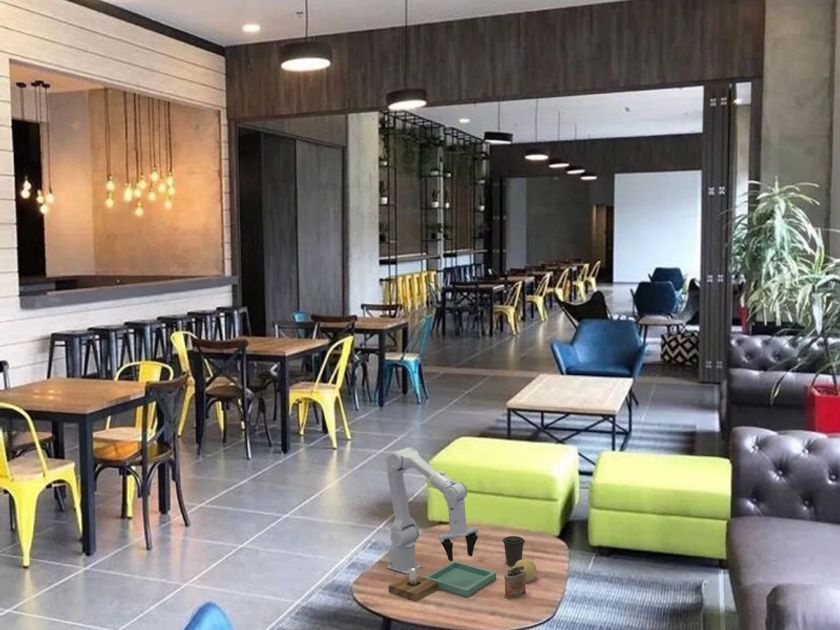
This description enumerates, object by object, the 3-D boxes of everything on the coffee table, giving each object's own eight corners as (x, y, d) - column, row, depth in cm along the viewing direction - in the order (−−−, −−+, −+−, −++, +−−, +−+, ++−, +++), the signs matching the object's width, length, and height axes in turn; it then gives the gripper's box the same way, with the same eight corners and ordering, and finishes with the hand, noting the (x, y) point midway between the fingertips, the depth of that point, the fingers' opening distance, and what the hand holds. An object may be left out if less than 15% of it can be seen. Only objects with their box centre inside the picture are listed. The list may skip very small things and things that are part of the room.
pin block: (388, 592, 278) (388, 585, 278) (410, 580, 288) (410, 573, 287) (416, 601, 271) (416, 594, 271) (438, 588, 280) (438, 581, 280)
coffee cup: (500, 567, 298) (499, 540, 297) (506, 558, 305) (506, 532, 304) (521, 570, 295) (521, 543, 294) (527, 561, 302) (527, 535, 301)
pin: (407, 591, 279) (406, 568, 278) (412, 588, 281) (412, 565, 280) (414, 593, 277) (413, 570, 276) (419, 590, 279) (419, 567, 279)
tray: (424, 584, 284) (424, 577, 284) (454, 567, 298) (454, 560, 298) (467, 597, 273) (467, 590, 273) (496, 579, 287) (496, 572, 287)
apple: (537, 584, 282) (525, 566, 280) (517, 589, 286) (506, 571, 285) (542, 569, 288) (531, 552, 287) (523, 574, 292) (513, 557, 291)
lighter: (508, 600, 271) (507, 570, 270) (502, 596, 274) (502, 567, 273) (528, 594, 274) (528, 566, 273) (522, 591, 277) (522, 562, 276)
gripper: (443, 526, 273) (447, 566, 274) (481, 517, 280) (484, 556, 280) (434, 521, 280) (437, 560, 280) (471, 512, 286) (474, 551, 287)
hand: (460, 558), depth 281 cm, fingers open, 7 cm apart
